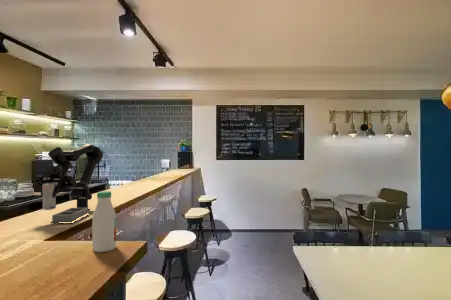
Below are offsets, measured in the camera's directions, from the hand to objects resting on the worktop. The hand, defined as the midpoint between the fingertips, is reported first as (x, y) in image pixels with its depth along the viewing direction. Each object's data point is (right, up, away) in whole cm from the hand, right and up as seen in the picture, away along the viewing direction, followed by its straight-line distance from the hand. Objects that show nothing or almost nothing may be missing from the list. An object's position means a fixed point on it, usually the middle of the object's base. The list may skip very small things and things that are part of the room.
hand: (47, 195), depth 134 cm
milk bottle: (+42, -13, -34) cm, 56 cm away
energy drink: (0, -7, +1) cm, 7 cm away
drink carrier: (+7, -13, +8) cm, 17 cm away
